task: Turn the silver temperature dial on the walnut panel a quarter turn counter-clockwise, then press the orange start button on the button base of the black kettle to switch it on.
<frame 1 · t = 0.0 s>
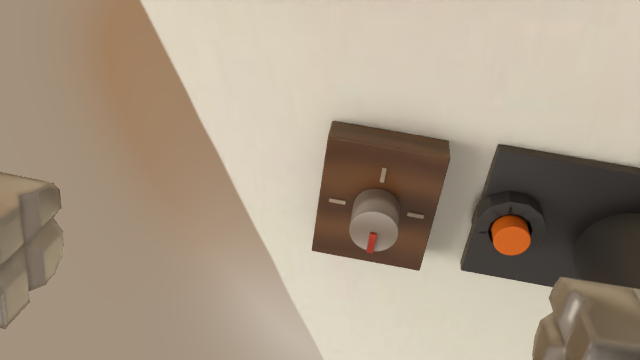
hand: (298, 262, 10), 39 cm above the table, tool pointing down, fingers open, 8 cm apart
start button: (510, 235, 51), point 3 cm above the table, slide at 0.1 cm
dial: (374, 220, 51), point 5 cm above the table, hinge at 0.0°
kettle: (622, 252, 51), resting on button base
dial panel: (378, 189, 55), on the table
button base: (567, 222, 54), on the table
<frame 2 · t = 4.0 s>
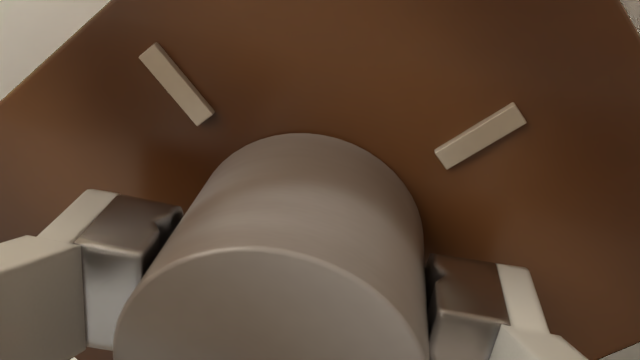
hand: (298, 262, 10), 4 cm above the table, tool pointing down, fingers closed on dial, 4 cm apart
dial: (289, 305, 9), point 5 cm above the table, hinge at 0.1°, touching gripper
dial panel: (327, 166, 13), on the table
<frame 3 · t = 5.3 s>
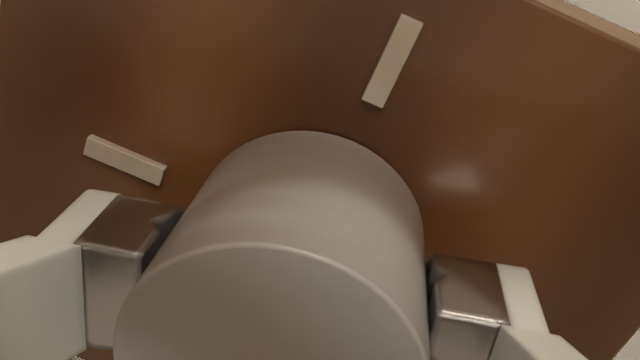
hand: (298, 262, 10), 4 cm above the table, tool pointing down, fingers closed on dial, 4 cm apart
dial: (289, 302, 9), point 5 cm above the table, hinge at 60.3°, touching gripper
dial panel: (328, 164, 13), on the table
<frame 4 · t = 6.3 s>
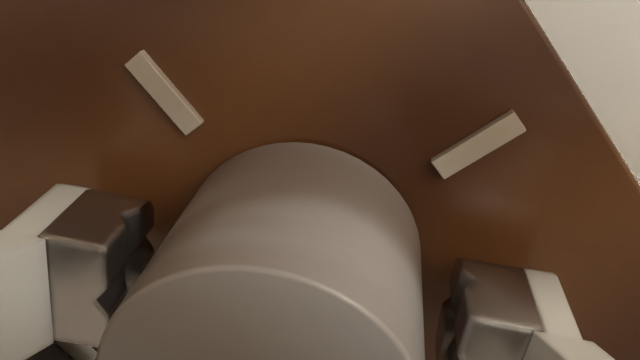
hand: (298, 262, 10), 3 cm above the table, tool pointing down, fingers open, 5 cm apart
dial: (280, 321, 9), point 5 cm above the table, hinge at 91.4°
dial panel: (323, 173, 13), on the table
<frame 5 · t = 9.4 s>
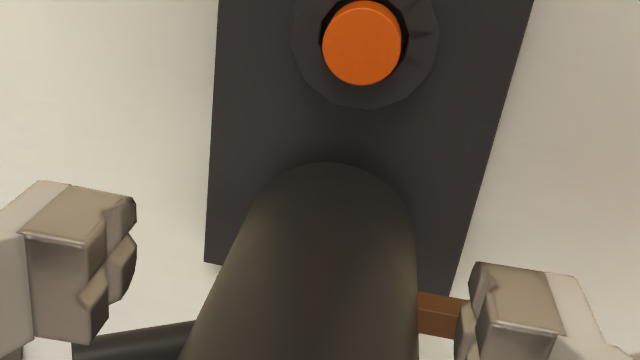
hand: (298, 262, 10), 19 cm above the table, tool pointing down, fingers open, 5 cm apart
start button: (362, 42, 24), point 3 cm above the table, slide at 0.1 cm
kettle: (330, 239, 29), resting on button base
button base: (348, 137, 29), on the table
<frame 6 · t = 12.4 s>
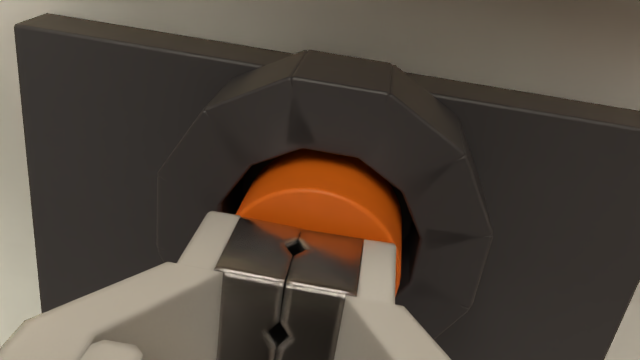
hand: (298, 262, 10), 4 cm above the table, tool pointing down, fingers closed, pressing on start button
start button: (316, 242, 11), point 3 cm above the table, slide at -0.4 cm, touching gripper
button base: (305, 359, 16), on the table
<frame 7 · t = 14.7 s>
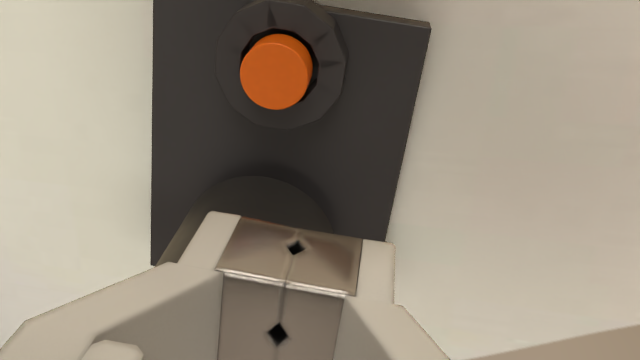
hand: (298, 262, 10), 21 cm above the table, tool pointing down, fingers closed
start button: (277, 71, 27), point 3 cm above the table, slide at 0.1 cm
kettle: (259, 244, 32), resting on button base
button base: (277, 152, 32), on the table
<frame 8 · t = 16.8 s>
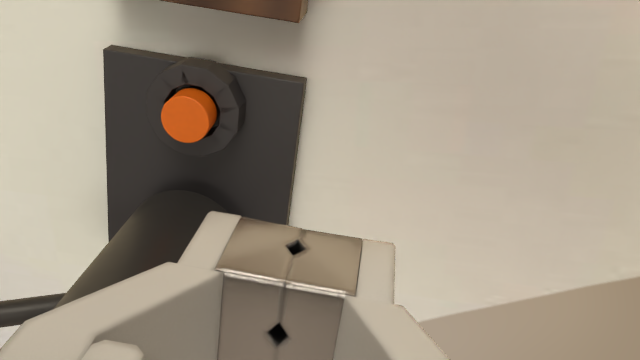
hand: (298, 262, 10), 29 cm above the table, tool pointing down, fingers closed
start button: (189, 115, 37), point 3 cm above the table, slide at 0.1 cm
kettle: (186, 241, 42), resting on button base
button base: (202, 171, 43), on the table
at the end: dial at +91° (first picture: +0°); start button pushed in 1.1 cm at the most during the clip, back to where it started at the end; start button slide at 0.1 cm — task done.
